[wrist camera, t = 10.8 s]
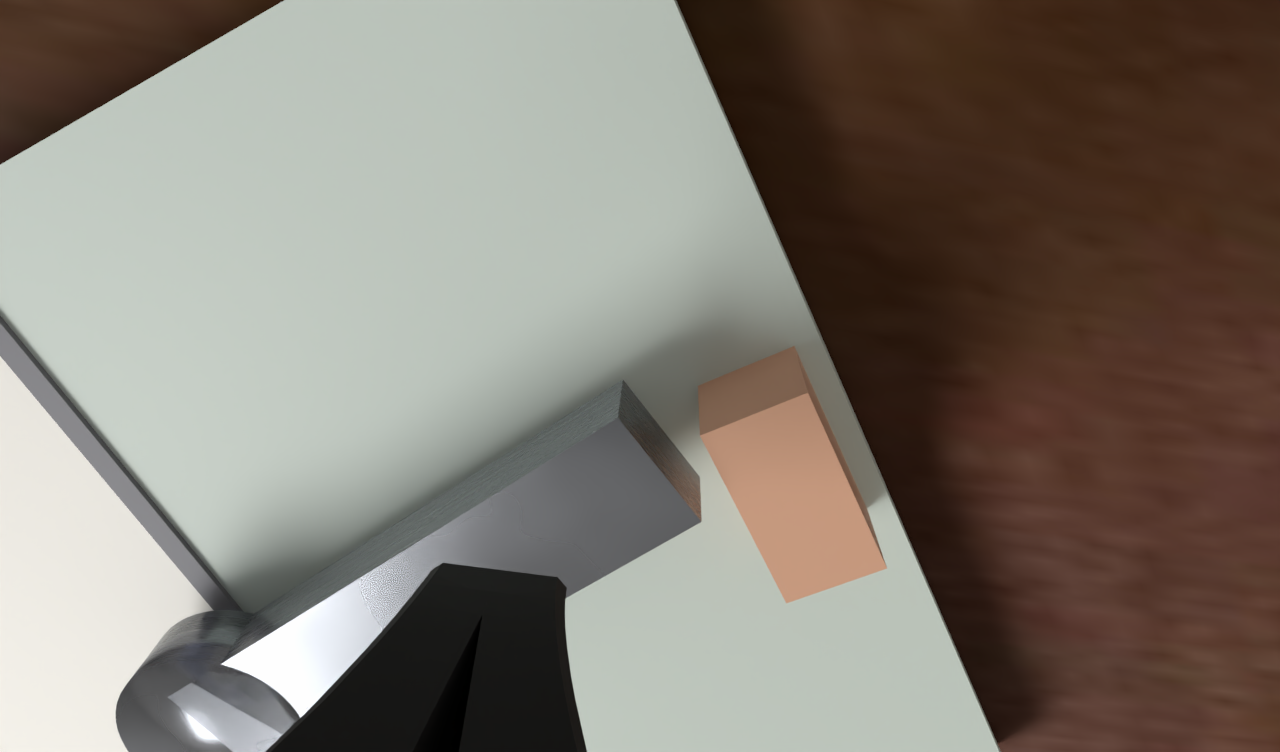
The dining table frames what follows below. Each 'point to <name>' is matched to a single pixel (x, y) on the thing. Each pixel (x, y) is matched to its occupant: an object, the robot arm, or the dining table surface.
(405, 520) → the bar
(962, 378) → the dining table surface
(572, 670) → the plate
